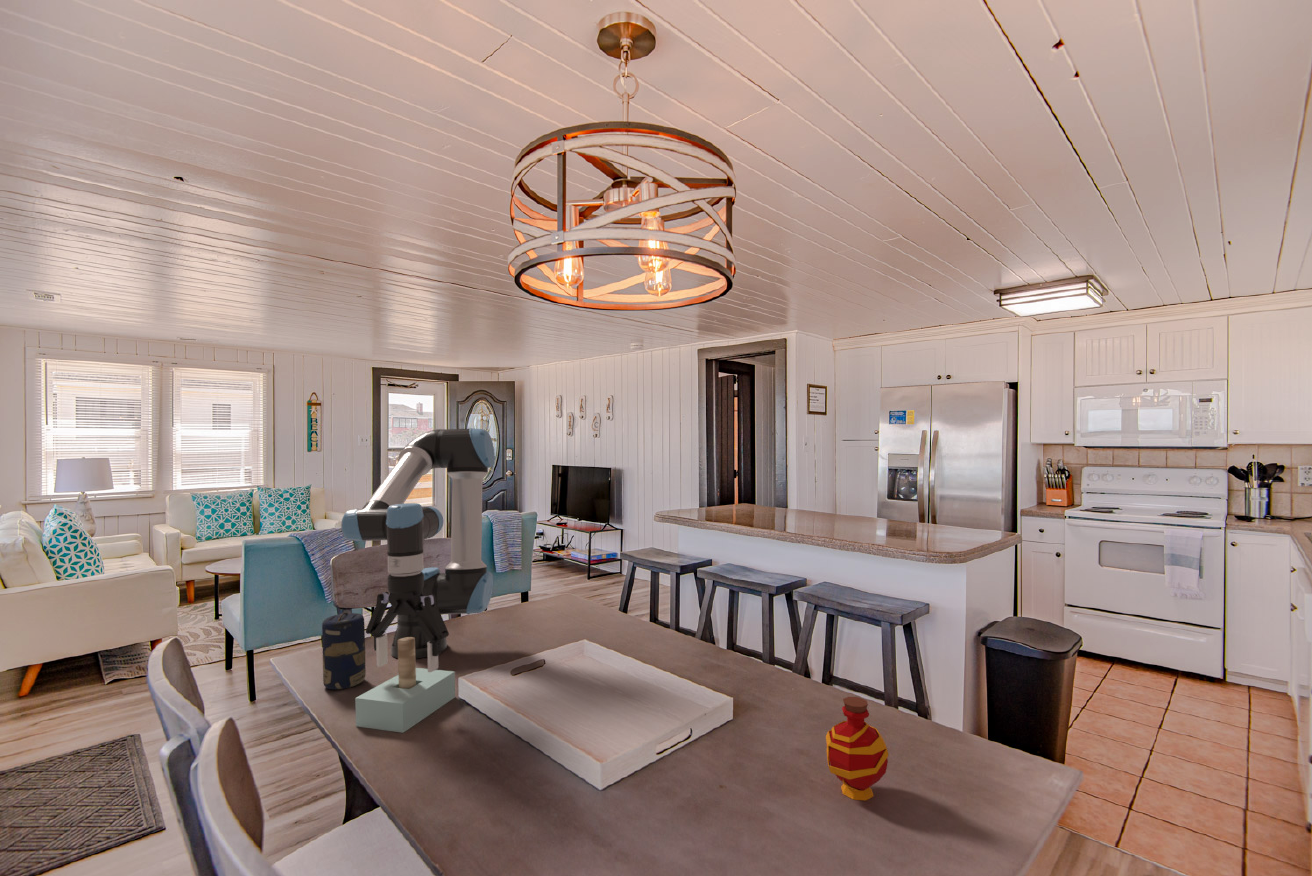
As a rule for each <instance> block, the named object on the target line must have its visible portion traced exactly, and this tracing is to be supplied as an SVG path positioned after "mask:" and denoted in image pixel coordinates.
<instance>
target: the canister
mask: <svg viewBox="0 0 1312 876" xmlns="http://www.w3.org/2000/svg"><path fill="white" fill-rule="evenodd" d="M365 626H366V625H365V617H364V616H363V614H361V613H357V612H355V613H354V612H346V611H345V612H342V613H339V614H334V615H331V616H329V617H327V618H325V619H324V620H323V621H322V623H321V632H322V634H321V636H322V639H321V640H322V681H323V686H324V687H325V688H326V689H329V690H343V689H349V688H352V687H355V686H357V685H359V684H361V683H362V682H363V681H364V680H365V679H366V676H367V675H366V673H367V672H366V671H367V670H366V638H365V637H366V634H365V633H366V629H365Z"/></svg>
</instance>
